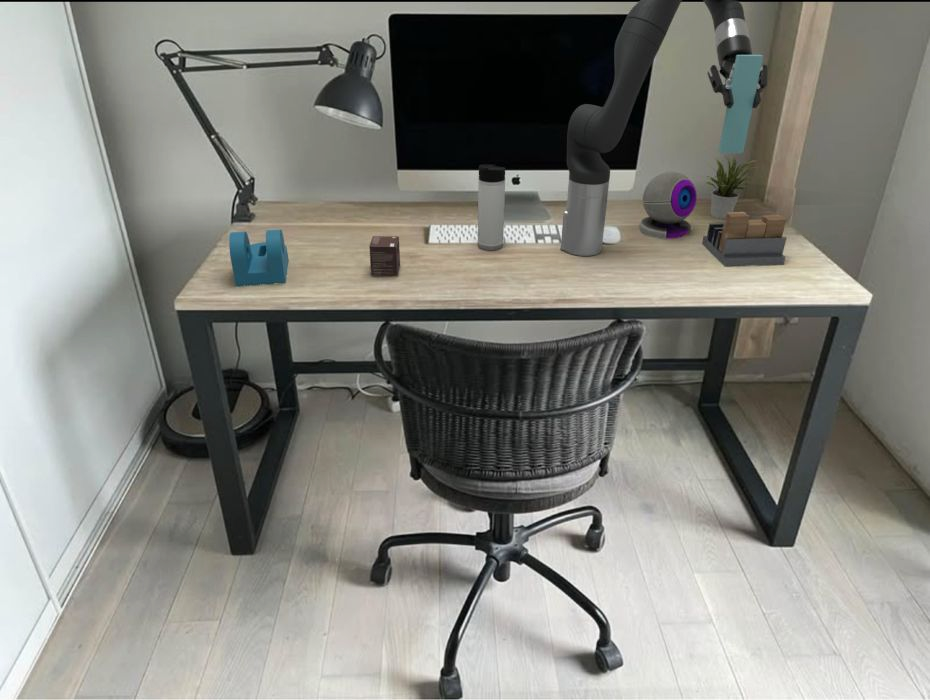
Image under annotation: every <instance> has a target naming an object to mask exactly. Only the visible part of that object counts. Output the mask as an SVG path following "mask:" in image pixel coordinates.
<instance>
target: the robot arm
mask: <svg viewBox="0 0 930 700" xmlns="http://www.w3.org/2000/svg"><path fill="white" fill-rule="evenodd" d="M682 1H683V0H639V1H638V2H637V3H636V4H635V5H634V6H633V7H632V8H630V10H629V12H628V14H627V16H626V17H625V20H624V22H623V24H622V26H621V28H620V30H619V33H618V35H617V37H616V39H615V43H614V49H613V50H614V52H613V56H614V80H613V82H612V83H613V84H612V87H611V90H610V92H609V95H608V98H607V99H606V101H605V104H604V105H603V106H599V105H595V104H588V103H584V104H581V105H579V106H578V107H576V109H575V110H574V111H573V112H572V114H571V116H570V119H569V121H568V127H567V135H566V136H567V139H566V142H567V143H566V166H567V169H568V185H567V199H566V209H565V210H563V214H562V215H563V216H562V227H561V240H560V250H561V251H564V252H566V253H568V254H570V255H573V256H583V257H587V256H588V257H589V256H595V255H598V254H601V252H602V250H603V243H604V233H605V225H606V224H605V223H606V217H607V215H606V214H607V206H608V198H609V197H608V196H609V187H610V186H609V185H610V179H611V178H610V177H611V167H610V166H609V165H608V164H607V163H606V162H605V161H604V159H602V157H601V154H607V153H609V152H611V151H613V150H614V149H615V147H616V146H617V145H618V143H619V142H620V141H621V138H622V136H623V135H624V134H623V133H624V131H625V129H626V127H627V125H628V122H629V119H630V116H631V114H632V111H633V109H634V105H635V103H636V100H637V96H638V95H639V93H640V90H641V88H642V85H643V83H644V81H645V80H646V76H647V75H648V72H649V70H650V67H651V65H652V64H653V61H654V60H655V58H656V56H657V55H658V53H659V50H660V48H661V46H662V44H663V41H664V40H665V38H666V35H667V33H668V31H669V29H670V26H671V23H672V21H673V20H674V18H675V15H676V14H677V11H678V9H679V7H680V5H681V3H682ZM702 1H703V2H704V4H705V6H706V7H707V9H708V11H709V13H710V15H711V19H712V22H713V23H712V24H713V30H714V36H715V37H714V42H715V48H716V54H717V61H718V65H719V66H716V65H715V64H713V65H711V67H710V68H709V70H708V71H707V76H708V79H709V82H710V84H711V87H712V90H713V93H715V94H718V93H720V94H721V95H722V97H723V100H722V101H723V104H724V106H725V107H726V108H731V107H732V106H733V104H734V101H733V95H732V91H731V90H730V88H731V81H732V76H733V71H734V65H735V60H736V55H753V50H752V45H751V39H750V33H749V30H748V26H747V23H746V17H745V11H744V8H743V4H742V3H741V2H740V1H739V0H702ZM721 76H722V77H723V78H724V82H722V79H721ZM767 86H768V65H767V64H763V65H761V69H760V74H759V79H758V84H757V89H756V93H755V97H754V102H753V107H752V109H756V108H757V107H758V106H759V105H760V103H761V102H762V98H761V93H762V92H763V91H764V89H765V88H767ZM600 153H601V154H600Z"/></svg>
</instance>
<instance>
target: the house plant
mask: <svg viewBox="0 0 930 700" xmlns="http://www.w3.org/2000/svg"><path fill="white" fill-rule="evenodd" d="M724 156H725V158H726V160H727V162H728V174H727V171H725V169H724V165H723V164H722V163H721V161H719V159H718V158H717V157H714V159H715V161H716V163H717V166H718V167H717V168H718V169H717V170H716V169H715V168H714V167H713V166H711V165H710V164H709V163H708V162H707V163H706V162H705V164H707V165H708V166H710V168H712V169H713V170H714V171H715V173H716V175H714V176H715V178H714V177H711V176H706V177H707V178H708V179H710V180H711V181H712V182H713V183H715V184H716V185H717V187H716V185H715V184H713V183H712V182H711V181H710V182H709V181H708V182H706V184H708V185H711V186H712V187H714V188H715V189H714V190H712V191H711V195H710V196H711V201H710V202H711V206H710V207H711V210H710V216H711V215H712V216H711V217H713V218H716V219H719V218H720V220H721V219H722V220H725V216H726V212H734V210H735V207H736V205H737V201H738V200H739V198H740V194H739V193H738V192H737V191H735V190H744V191H746V189H745V188H744V187H742V186H746V188H749V184H748V183H743V182H745V181H746V180H747V179H749V178H750V176H745V175H746V174H747V173H748V172H749V171H751V170H755V169H761V167H755V166H754V167H753V166H752V167H749V168H748V169H746V170H745V171H744V172H743V170H744V169H745V168H746V167H747V166H749V165H750V164H751V163H753V162H757V161H758V159H756V160H750V161H747V162H745V163H744V164H743V163H742V164H739V165H738V166H737V160H736V157H735V156H733V158H732V161H731V159H730V158H729V157H727V155H726V154H724ZM731 162H732V163H731ZM740 174H741V175H740ZM739 175H740V176H739ZM738 176H739V177H738ZM744 176H745V177H744ZM716 179H717V180H716ZM717 188H718V189H717Z"/></svg>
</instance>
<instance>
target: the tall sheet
mask: <svg viewBox="0 0 930 700" xmlns="http://www.w3.org/2000/svg"><path fill="white" fill-rule="evenodd" d="M763 59H764V55H762V54H752V55H736V60H735V65H734V71H733V76H732V81H731V88H730V90H731V91H732V95H733V101H734V104H733V106H732V107H731V108H727V107H726V108H725V114H724V117H723V118H724V121H723V124H722V129H721V136H720V139H719V140H720V141H719V145H718V153H720V154H743V153H744V151H745V146H746V141H747V138H748V137H747V135H748V130H749V127H750V122H751V117H752V112H753V108H752V107H753V102H754V97H755V93H756V89H757V84H758V79H759V74H760V69H761V67H762V66H763V65H762V64H763Z"/></svg>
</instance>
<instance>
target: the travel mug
mask: <svg viewBox="0 0 930 700" xmlns="http://www.w3.org/2000/svg"><path fill="white" fill-rule="evenodd" d="M477 181H478V185H477V186H478V190H477V192H478V193H477V195H478V197H477V200H478V201H477V203H478V204H477V247H478V248H479V249H481V250H483V251H484V250H485V251H497V250H501V249H502V248H503V247H504V231H505V230H504V228H505V227H504V226H505V201H506V200H505V195H506V167H504V166H502V167H501V166H498V165H496V164H486V163H485V164H480V165H479V166H478V179H477Z"/></svg>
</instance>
